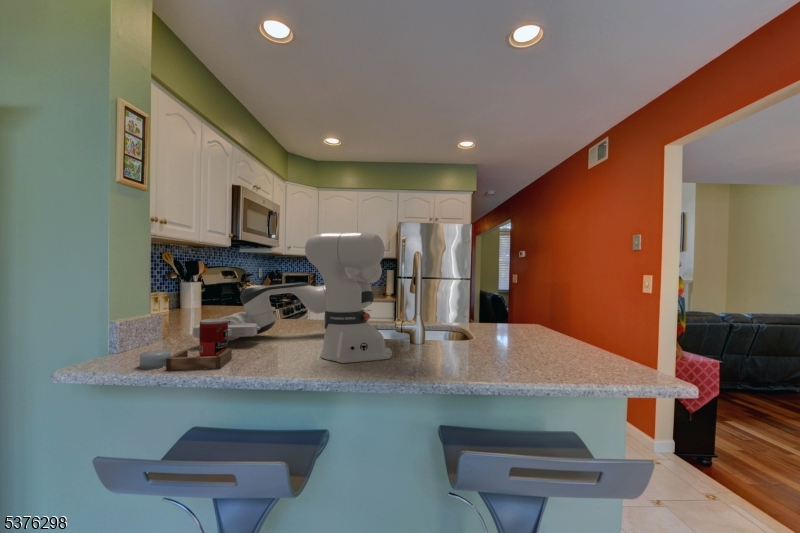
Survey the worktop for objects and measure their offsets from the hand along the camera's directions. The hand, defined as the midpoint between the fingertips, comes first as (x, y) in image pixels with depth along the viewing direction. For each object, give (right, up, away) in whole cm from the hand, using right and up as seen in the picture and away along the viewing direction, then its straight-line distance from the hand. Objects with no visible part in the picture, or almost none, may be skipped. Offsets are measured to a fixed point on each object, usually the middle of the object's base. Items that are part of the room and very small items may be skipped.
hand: (219, 334), depth 113 cm
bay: (+3, -5, -15) cm, 16 cm away
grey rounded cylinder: (-9, -5, -17) cm, 20 cm away
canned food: (+1, -6, -5) cm, 8 cm away
